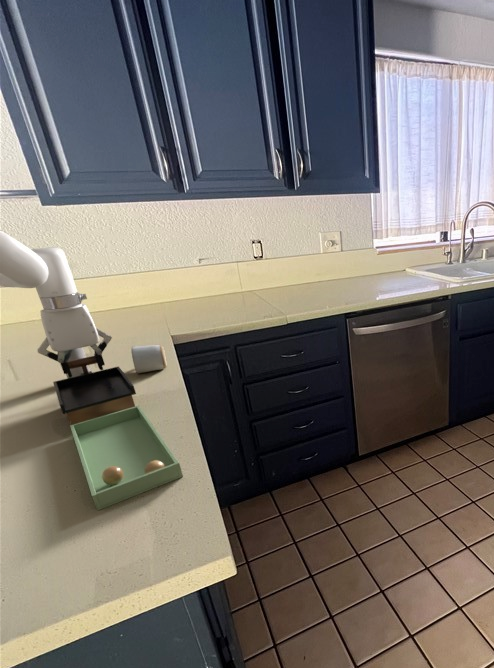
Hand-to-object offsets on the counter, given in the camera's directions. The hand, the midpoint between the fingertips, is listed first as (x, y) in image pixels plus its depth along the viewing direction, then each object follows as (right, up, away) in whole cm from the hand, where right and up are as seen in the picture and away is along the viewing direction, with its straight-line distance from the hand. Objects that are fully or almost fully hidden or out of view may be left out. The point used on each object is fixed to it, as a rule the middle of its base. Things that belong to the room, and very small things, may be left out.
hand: (85, 371), depth 109 cm
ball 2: (+36, -18, -34) cm, 53 cm away
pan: (+6, -4, -7) cm, 10 cm away
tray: (+25, -17, -25) cm, 40 cm away
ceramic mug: (+7, +1, +18) cm, 19 cm away
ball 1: (+29, -19, -35) cm, 49 cm away
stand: (+7, -9, -5) cm, 12 cm away
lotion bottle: (-9, -2, +12) cm, 15 cm away
